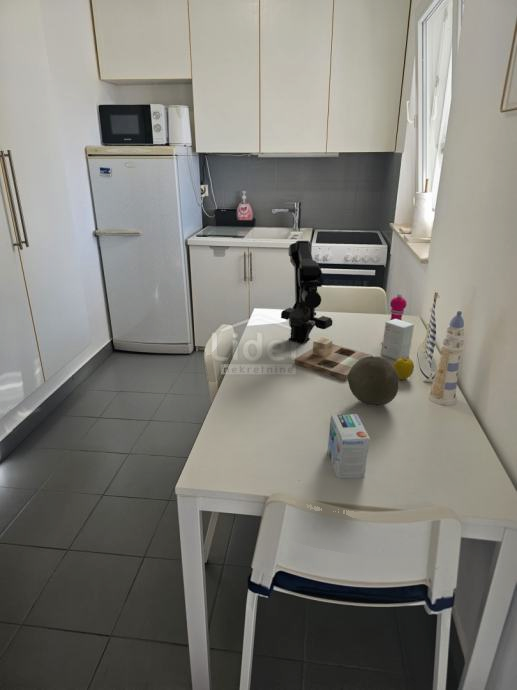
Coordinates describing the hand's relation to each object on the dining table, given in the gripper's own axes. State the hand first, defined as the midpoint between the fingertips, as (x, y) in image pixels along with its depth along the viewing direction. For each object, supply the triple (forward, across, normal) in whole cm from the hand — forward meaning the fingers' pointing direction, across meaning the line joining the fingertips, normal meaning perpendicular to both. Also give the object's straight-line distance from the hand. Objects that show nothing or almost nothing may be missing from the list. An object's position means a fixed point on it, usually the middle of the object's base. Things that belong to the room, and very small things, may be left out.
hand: (304, 339), depth 166 cm
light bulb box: (+5, +43, -50) cm, 66 cm away
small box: (+6, +28, +20) cm, 34 cm away
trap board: (+5, +13, 0) cm, 14 cm away
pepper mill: (+6, +22, +33) cm, 40 cm away
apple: (+5, +37, +3) cm, 37 cm away
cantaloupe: (+5, +36, -20) cm, 41 cm away
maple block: (+3, +8, 0) cm, 8 cm away
